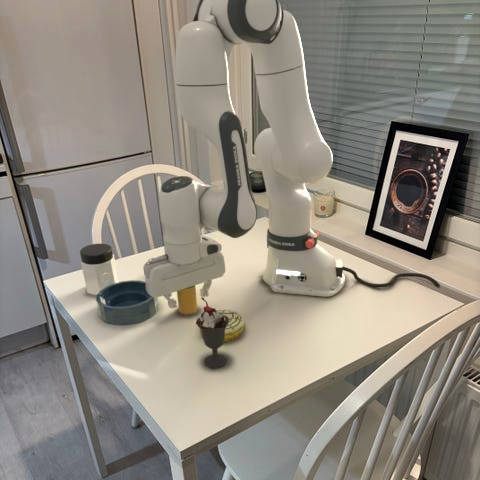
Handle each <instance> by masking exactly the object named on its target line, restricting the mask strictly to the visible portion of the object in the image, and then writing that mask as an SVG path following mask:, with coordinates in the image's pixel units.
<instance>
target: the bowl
mask: <svg viewBox="0 0 480 480" xmlns="http://www.w3.org/2000/svg"><path fill="white" fill-rule="evenodd" d="M158 299H159V297H158V298H154V297H152V296H151V295H149V294H148V293H147V291H146V285H145V280H144V281H143V280H123V281H119V282H118V283H114V284H111V285H109V286H106V287H105V288H103V289H102V290H100V291H99V293H98V294H97V295H95V302H96V307H97V311H98V315H99V317H100V319H101V320H102V321H103V322H105V323H107V324H110V325H115V326H128V325H135V324H139V323H142V322H145V321H147V320H149V319H151V318H152V317H154V316H155V315H156V314H157V312H158V311H159V300H158Z"/></svg>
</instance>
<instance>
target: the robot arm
mask: <svg viewBox="0 0 480 480" xmlns="http://www.w3.org/2000/svg"><path fill="white" fill-rule="evenodd" d="M241 44H246V45H247V47H248V48H249V51H250V53H251V57H252V62H253V71H254V77H255V82H256V90H257V95H258V100H259V101H258V102H259V107H260V111H261V113H262V114H263V116H264V117H265V119H266V121H267V122H268V124H269V127H267V128H265V129H262V131H261V132H260V133H259V134H258V135H257V137H256V139H255V141H254V145H253V151H254V155H255V158H256V160H257V162H258V163H259V166H260V169H261V174H262V178H263V182H264V186H265V191H266V196H267V205H268V206H267V207H268V228H267V230H266V247H267V256H266V263H265V264H266V265H265V268H264V272H263V275H262V280H263V281H264V283H266V284H267V285H268V286H270V289H271V290H272V291H273V292H274V293H280V294H281V293H282V294H293V295H303V296H312V297H324V298H329V297H332V296H334V295H337V293H339V292H340V291H341V290H342V289H343V287H344V285H345V283H346V277H345V274H344V272H347V273H350V274H351V275H352V276H353V278H354V279H355V280H356V281H357V282H358V283H360V284H362V285H364V286H367V287H370V288H387V287H389V286H392V284H393V283H394V282H395V281H396V280H397V279H399V278H407V277H409V278H410V277H413V278H414V277H416V278H422V279H425V280H427V281H429V282H431V283H432V284H433V285H434V286H435V287H441V284H440V283H439V282H438V281H437V280H436V279H435V278H433V277H432V276H430V275H427V274H424V273H419V272H402V273H397V274H395V275H394V276H392V277H391V279H390V280H389V281H388V282H385V283H372V282H369V281H366V280H363V279H361V278H360V277H359V276H358V274H357V272H356V271H355V270H353V269H351V268H349V267H346V266H344V262H343V261H344V260H343V259H335V257H334V256H333V255H331V253H330V252H329V251H327V250H326V249H324V248H323V247H322V246H321V245H320V244H319V243H318V238H319V233H320V231H317V232H315V231H313V229H312V228H311V226H312V225H311V224H312V207H313V205H312V204H313V203H312V198H311V195H310V193H309V192H308V190H307V187H306V185H315V184H318V183H320V182H322V181H323V180H325V178H326V177H327V176H328V175H329V173H330V172H331V169H332V167H333V161H334V160H333V152H332V150H331V148H330V146H329V145H328V144H327V143H326V141H325V140H324V138H323V136H322V134H321V132H320V129H319V126H318V124H317V121H316V119H315V115H314V112H313V110H312V107H311V103H310V99H309V98H310V97H309V92H308V91H309V90H308V84H307V83H308V82H307V75H306V67H305V66H306V65H305V59H304V58H305V57H304V51H303V46H302V41H301V36H300V32H299V28H298V25H297V22H296V19H295V17H294V15H293V14H292V13H291V12H290V11H287V10H285V9H283V6H282V4H281V1H280V0H199V1H198V2H197V6H196V10H195V13H194V17H193V19H192V21H191V22H188V23H187V24H184V25H183V26H182V27H180V30H179V31H178V33H177V37H176V44H175V62H174V67H175V68H174V70H175V71H174V72H175V73H174V74H175V90H176V100H177V101H176V102H177V106H178V109H179V113H180V116H181V117H182V118H183V120H184V121H185V122H186V123H187V124H188V125H189V126H190V127H191V128H193V130H196V131H197V132H198V133H200V134H201V135H202V136H204V137H205V138H206V139H207V140H208V141H209V142H210V143H211V144H212V146H213V147H214V148H215V150H216V152H217V155H218V158H219V163H220V164H219V165H220V169H221V170H220V171H221V177H222V184H223V187H220V186H217V185H213V184H208V183H203V182H199V181H196V180H195V179H194V178H192V177H191V176H187V175H179V176H174V177H171V178H168V179H166V180H165V181H164V182H163V183H162V184H161V186H160V188H159V195H158V200H159V201H158V205H159V207H158V208H159V216H160V223H161V226H162V228H163V233H162V241H163V249H164V254H162V255H159V256H157V257H151V258H149V259H148V260H147V261H146V262H145V263H144V264H143V267H142V268H143V274H144V279H145V280H144V282H145V285H146V291H147V293H148V294H149V295H151V296H152V297H154V298H158V299H159V298H161V297H164V299H165V300H166V301H167V306H168V307H169V308H170V309H175V308H177V307H178V302H177V300H176V299H174V298H171V297H172V293H175V292H176V293H177V291H179V290H182V289H185V288H188V287H191V286H194V285H195V286H198V285H201V284H203V285H202V288H200V289H199V295H200V298H204V299H205V298H207V297H209V290H210V288H211V286H212V284H213V282H212V281H213V280H216V279H219V278H222V277H224V275H225V273H226V262H225V257H224V254H223V253H222V252H221V251H222V250H223V249H222V248H223V247H222V244H221V243H220V242H218V241H217V240H215V239H214V238H212V237H209V236H206V235H202V229H204V228H207V229H210V230H214V231H217V232H220V233H222V234H223V235H225V236H228V237H230V238H231V239H232V238H233V239H238V238H241V237H243V236H245V235H246V234H247V233H249V232H250V231H251V230H252V229H253V228H254V226H255V224H256V221H257V218H258V206H257V203H256V200H255V197H254V193H253V190H252V184H251V175H250V169H249V160H248V155H247V153H248V152H247V147H246V146H247V145H246V139H245V134H244V129H243V126H242V121H241V120H240V118H239V116H238V115H237V114H236V111H235V109H234V106H233V102H232V98H231V92H230V76H229V61H230V59H229V58H230V55H231V52H232V50H233V48H234V46H235V45H241Z"/></svg>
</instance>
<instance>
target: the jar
mask: <svg viewBox="0 0 480 480" xmlns="http://www.w3.org/2000/svg"><path fill="white" fill-rule="evenodd" d="M79 254H80V260H81V262H80V265H81V270H82V274H83V279H84V285H85V289H86V293H87V294H90V295H95V296H97V294H98V293H99V291H100V290H102V289H103V288H105V287H106V286H109V285H111V284H114V283H118V282H120V281H119V277H118V270H117V265H116V259H115V254H114V252H113V249H112V246H111V245H110V244H107V243H93V244H88V245H85V246H84V247H82V248H81V249H80V250H79Z"/></svg>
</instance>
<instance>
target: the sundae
mask: <svg viewBox="0 0 480 480" xmlns="http://www.w3.org/2000/svg"><path fill="white" fill-rule="evenodd" d="M200 299H201V300H202V301H204V302H205V304H206V305H205V306H204V307H203V311H202V312H201V313H200V316H199V317H197V319H196V320H195V324H196V326H197V327H198V329H199V328H200V329H201V331H202V333H201V336H202V339H203V342H204V345H205V346H206V347H207V348H208V349H210V350H211V353H212V354H209V355H207V356H206V357H205V358H204V360H203V364H204V365H205V366H206V367H208V368H211V369H219V368H222V367H224V366H226V365H227V363H228V358H227V357H226V356H225V355H224V354H220V353H219V352H218V350H219V349H220V348H221V347H222V346H223V345H224V342H225V341H224V337H225V328H226V326H227V325H228V322H229V318H228V317H227V316H225V315H222V314H220V313H219V311H218V310H219V309H216V308H213V307H211V306H209V304H208V302H207V300H206V299H205V297H204V298H203V297H200ZM200 329H199V330H200ZM201 331H200V332H201Z"/></svg>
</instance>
